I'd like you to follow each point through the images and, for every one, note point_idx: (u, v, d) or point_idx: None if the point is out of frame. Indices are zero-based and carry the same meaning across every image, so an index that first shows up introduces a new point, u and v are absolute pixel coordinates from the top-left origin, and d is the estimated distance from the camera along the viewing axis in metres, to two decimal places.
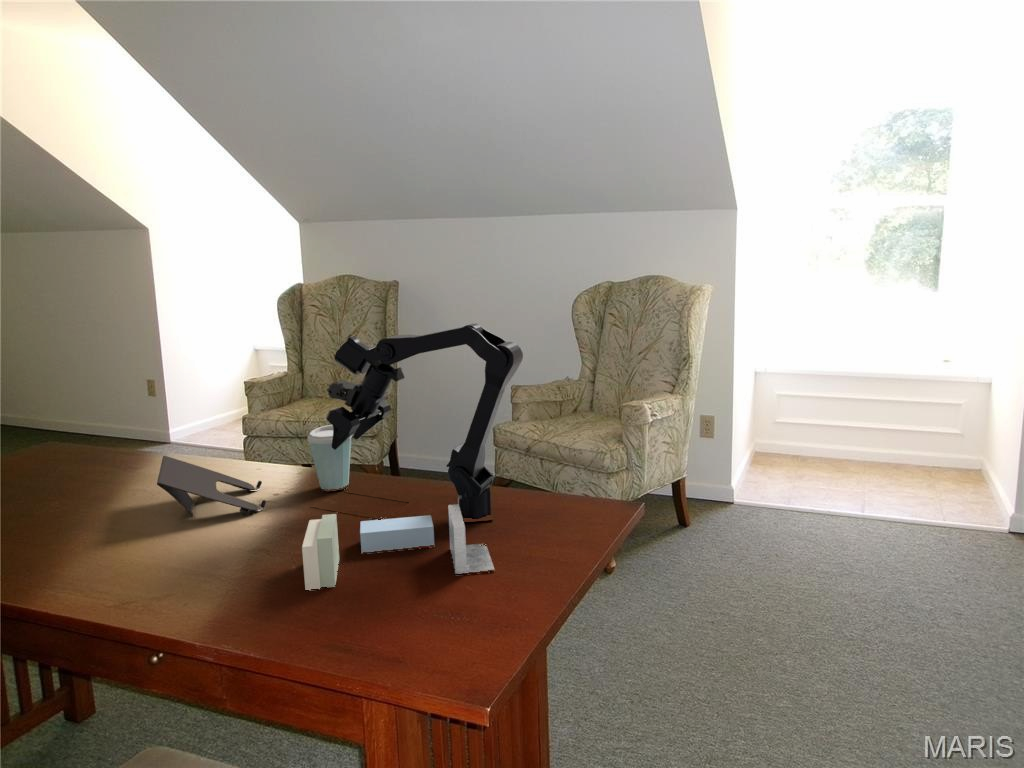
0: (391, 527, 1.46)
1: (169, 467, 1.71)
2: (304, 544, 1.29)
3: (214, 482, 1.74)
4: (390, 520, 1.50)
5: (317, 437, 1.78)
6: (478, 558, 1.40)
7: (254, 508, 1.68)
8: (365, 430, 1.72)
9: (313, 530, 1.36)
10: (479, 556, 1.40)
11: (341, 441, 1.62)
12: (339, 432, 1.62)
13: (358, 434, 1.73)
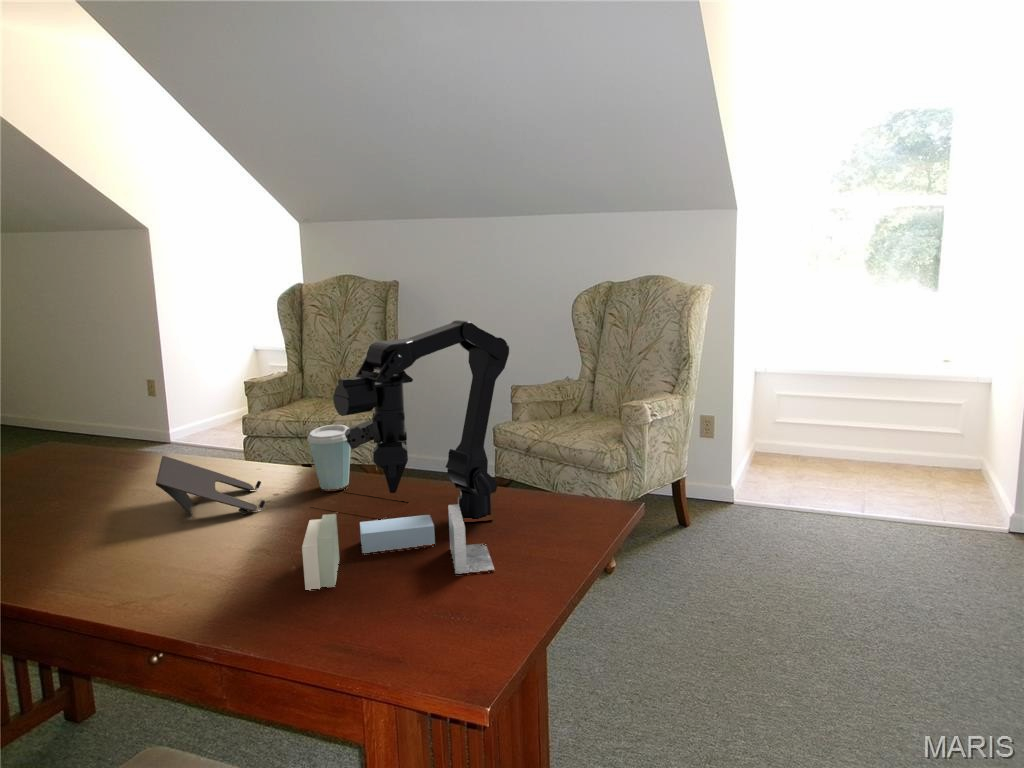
0: (392, 527, 1.46)
1: (168, 467, 1.71)
2: (304, 544, 1.29)
3: (213, 482, 1.74)
4: (389, 520, 1.50)
5: (317, 437, 1.78)
6: (478, 558, 1.40)
7: (253, 508, 1.68)
8: None
9: (313, 530, 1.36)
10: (479, 556, 1.40)
11: (398, 478, 1.41)
12: (391, 470, 1.41)
13: None
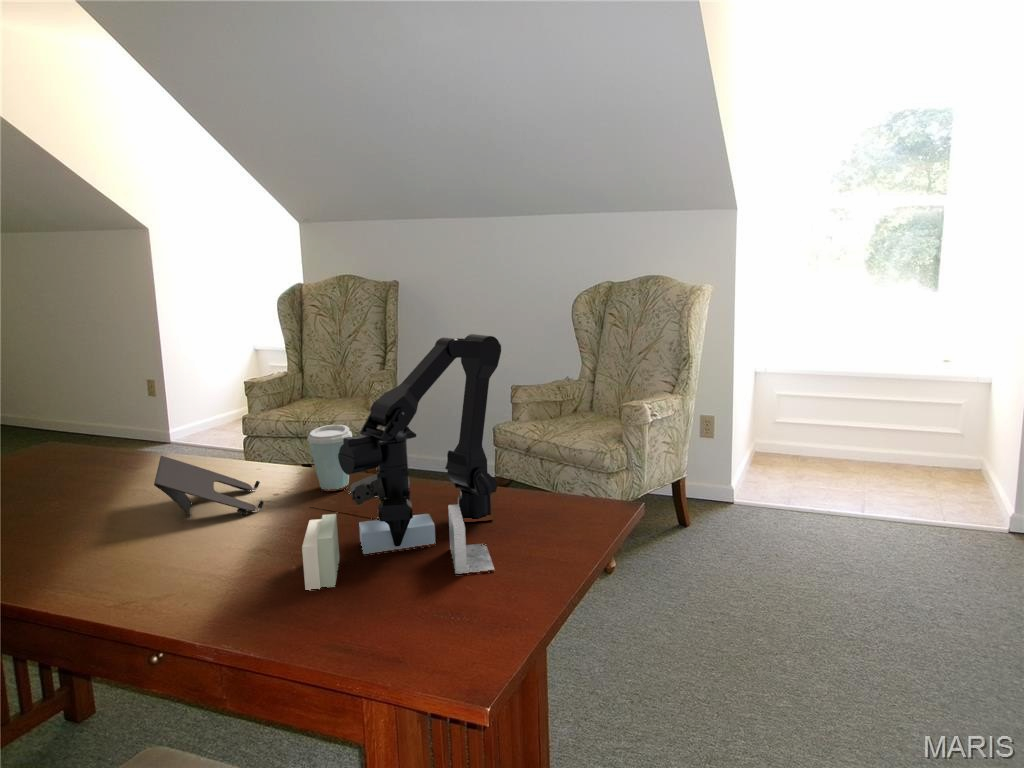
0: None
1: (166, 467, 1.71)
2: (304, 544, 1.29)
3: (212, 482, 1.74)
4: None
5: (317, 437, 1.78)
6: (478, 558, 1.40)
7: (251, 508, 1.68)
8: None
9: (313, 530, 1.36)
10: (479, 556, 1.40)
11: (403, 531, 1.44)
12: (396, 525, 1.43)
13: None
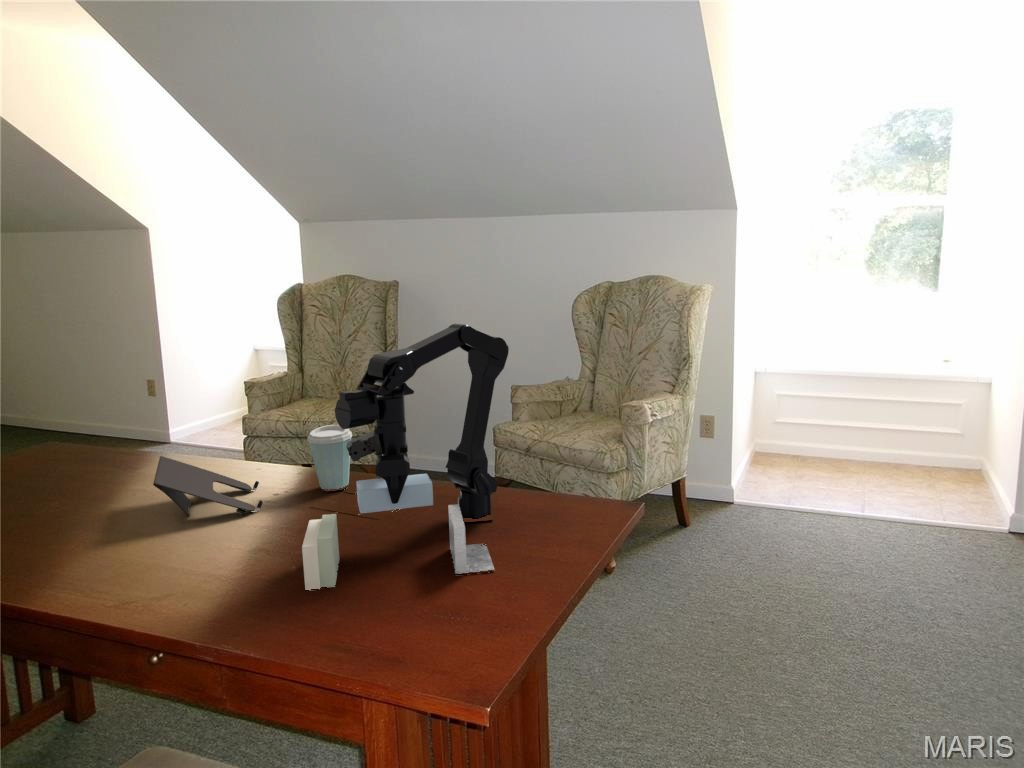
0: None
1: (166, 467, 1.71)
2: (304, 544, 1.29)
3: (211, 482, 1.74)
4: None
5: (317, 437, 1.78)
6: (478, 558, 1.40)
7: (251, 508, 1.68)
8: None
9: (313, 530, 1.36)
10: (479, 556, 1.40)
11: (400, 488, 1.42)
12: (393, 481, 1.42)
13: None
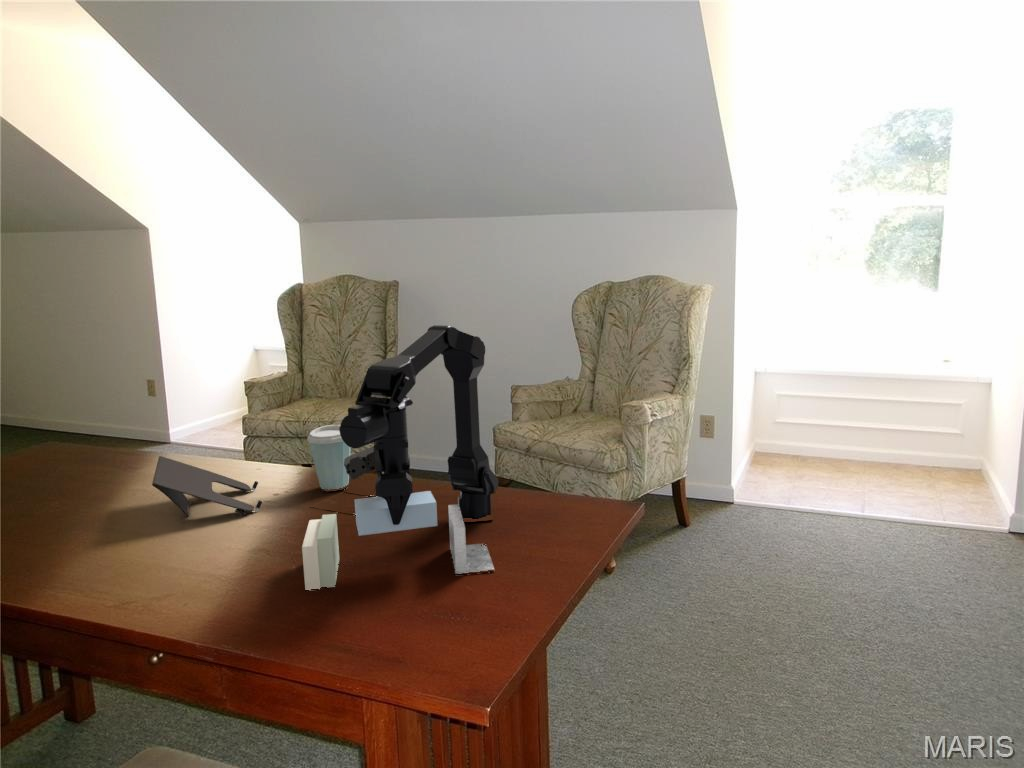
0: None
1: (165, 468, 1.71)
2: (304, 544, 1.29)
3: (210, 483, 1.74)
4: None
5: (317, 437, 1.78)
6: (478, 558, 1.40)
7: (250, 509, 1.67)
8: None
9: (313, 530, 1.36)
10: (479, 556, 1.40)
11: (402, 508, 1.32)
12: (394, 501, 1.31)
13: None
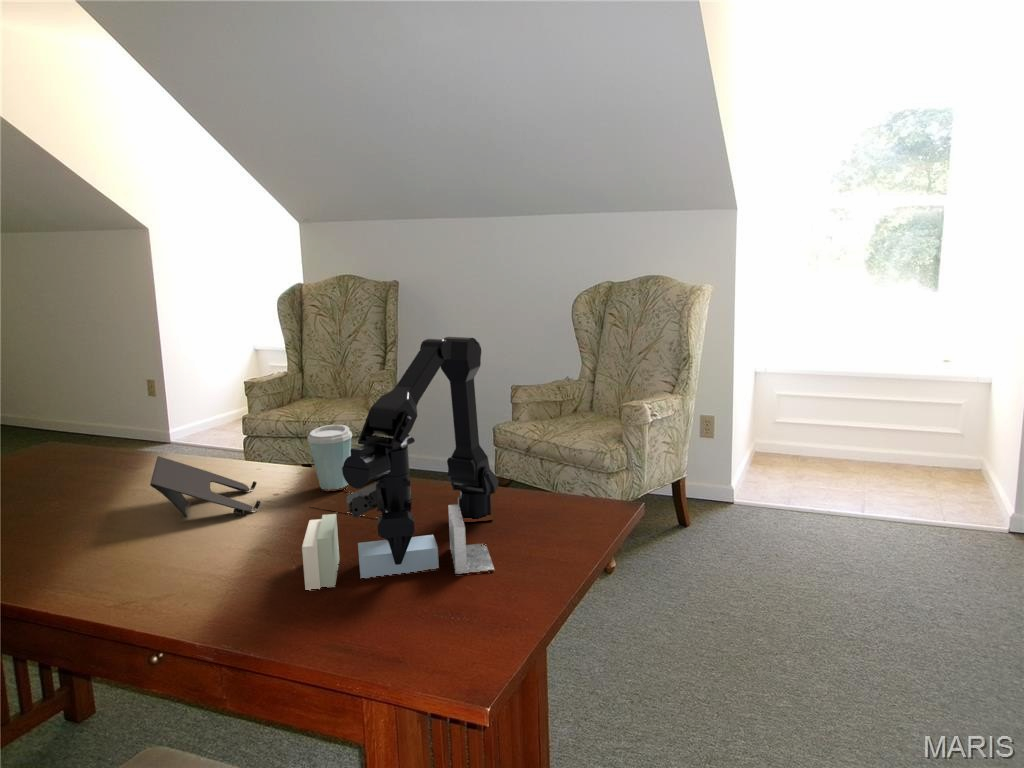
0: None
1: (163, 468, 1.71)
2: (304, 544, 1.29)
3: (208, 483, 1.74)
4: None
5: (317, 437, 1.78)
6: (478, 558, 1.40)
7: (248, 509, 1.67)
8: None
9: (313, 530, 1.36)
10: (479, 556, 1.40)
11: (404, 549, 1.32)
12: (396, 541, 1.31)
13: None
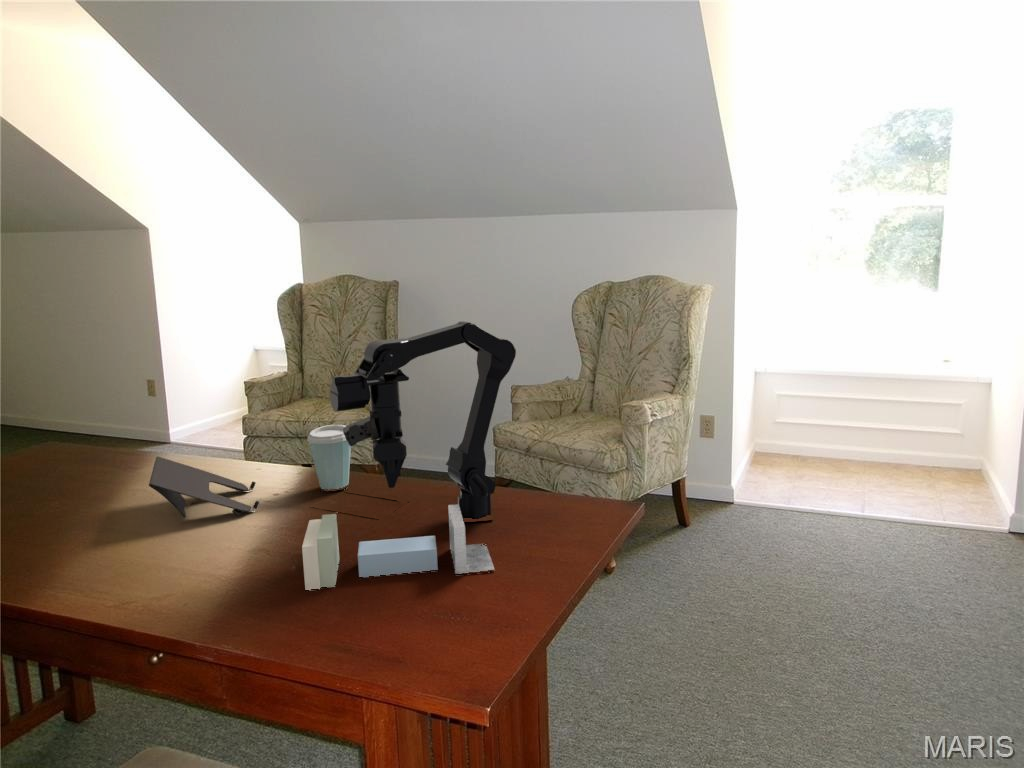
0: (391, 549, 1.36)
1: (162, 468, 1.70)
2: (304, 544, 1.29)
3: (207, 483, 1.74)
4: (391, 541, 1.40)
5: (317, 437, 1.78)
6: (478, 558, 1.40)
7: (247, 509, 1.67)
8: None
9: (313, 530, 1.36)
10: (479, 556, 1.40)
11: (397, 472, 1.46)
12: (390, 466, 1.45)
13: None
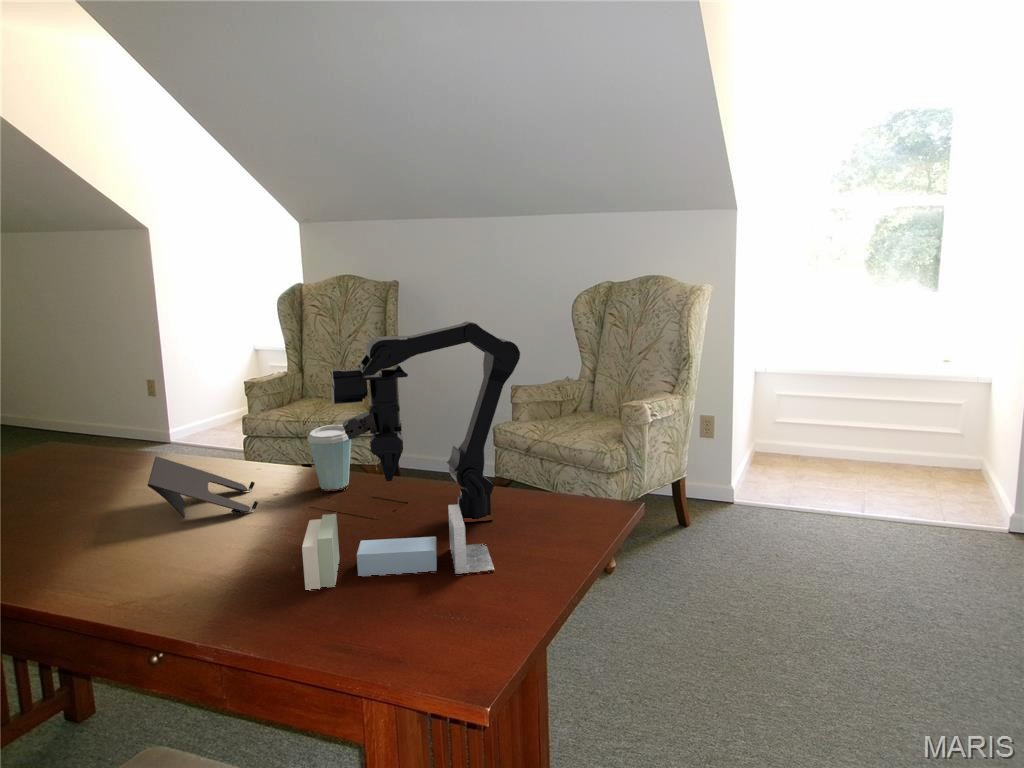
0: (391, 549, 1.36)
1: (161, 468, 1.70)
2: (304, 544, 1.29)
3: (206, 483, 1.74)
4: (392, 540, 1.40)
5: (317, 437, 1.78)
6: (478, 558, 1.40)
7: (246, 509, 1.67)
8: None
9: (313, 530, 1.36)
10: (479, 556, 1.40)
11: (394, 466, 1.48)
12: (387, 459, 1.48)
13: None
